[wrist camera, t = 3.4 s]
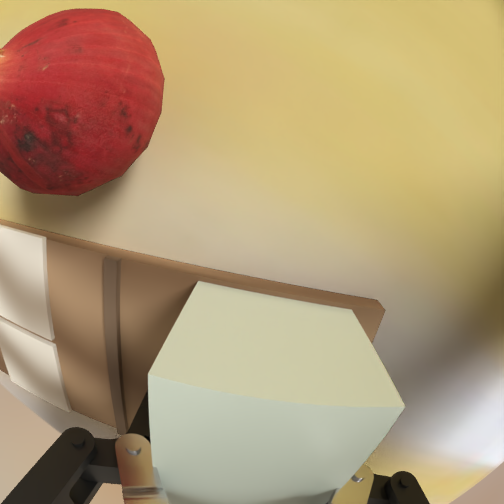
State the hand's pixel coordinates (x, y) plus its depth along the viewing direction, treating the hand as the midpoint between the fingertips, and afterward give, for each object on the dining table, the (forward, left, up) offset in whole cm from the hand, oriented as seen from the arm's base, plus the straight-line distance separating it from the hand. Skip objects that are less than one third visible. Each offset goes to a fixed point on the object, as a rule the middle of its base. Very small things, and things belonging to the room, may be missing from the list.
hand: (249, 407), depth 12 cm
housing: (0, 0, -1) cm, 1 cm away
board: (0, -6, -2) cm, 7 cm away
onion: (-11, -7, -2) cm, 13 cm away
